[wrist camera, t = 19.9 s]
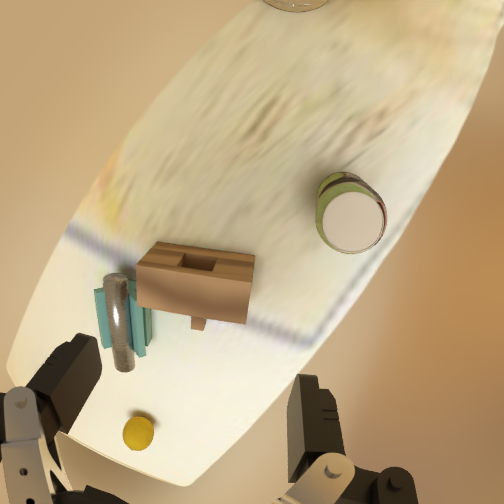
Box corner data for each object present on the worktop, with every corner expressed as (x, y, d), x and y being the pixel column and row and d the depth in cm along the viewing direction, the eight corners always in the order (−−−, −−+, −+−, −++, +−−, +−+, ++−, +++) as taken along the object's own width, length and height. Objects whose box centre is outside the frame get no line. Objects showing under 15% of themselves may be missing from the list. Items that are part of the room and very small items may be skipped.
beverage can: (363, 224, 36) (399, 267, 24) (301, 220, 36) (315, 262, 25) (369, 171, 33) (413, 192, 22) (305, 165, 33) (323, 182, 22)
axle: (109, 271, 37) (99, 282, 34) (131, 275, 37) (121, 286, 34) (119, 356, 42) (111, 369, 39) (137, 361, 42) (131, 374, 39)
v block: (107, 275, 40) (91, 292, 36) (152, 284, 40) (140, 302, 36) (112, 329, 43) (99, 347, 39) (154, 338, 43) (144, 358, 39)
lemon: (157, 429, 52) (146, 461, 45) (130, 420, 52) (117, 451, 44) (159, 414, 50) (147, 447, 43) (130, 404, 50) (116, 436, 42)
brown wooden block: (157, 241, 38) (135, 264, 31) (255, 255, 38) (251, 282, 31) (157, 313, 42) (140, 344, 35) (244, 328, 42) (240, 362, 35)
